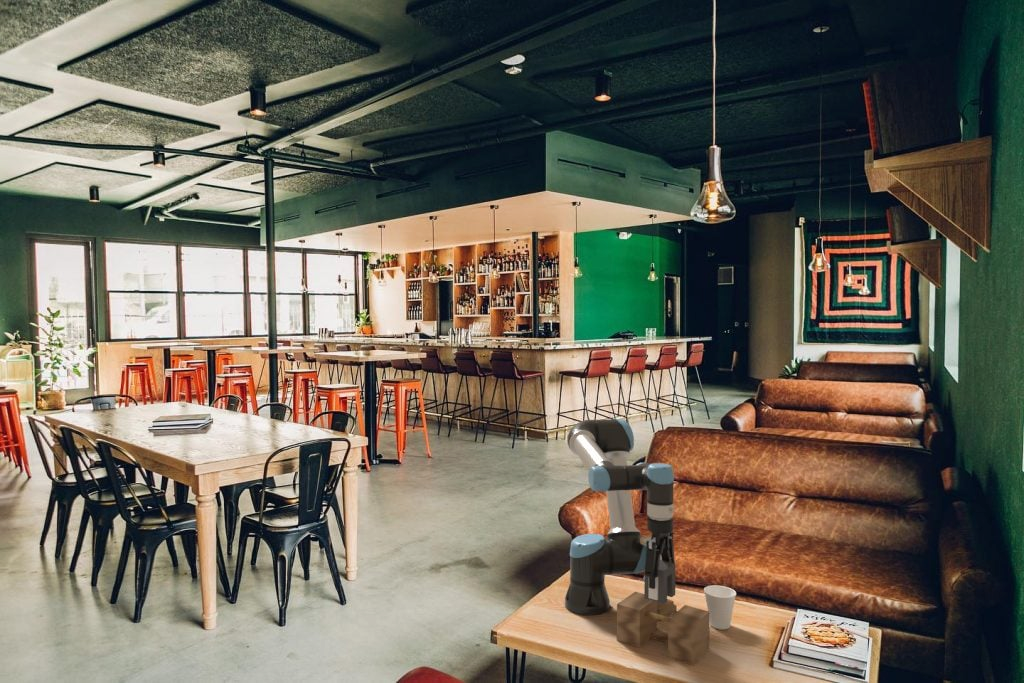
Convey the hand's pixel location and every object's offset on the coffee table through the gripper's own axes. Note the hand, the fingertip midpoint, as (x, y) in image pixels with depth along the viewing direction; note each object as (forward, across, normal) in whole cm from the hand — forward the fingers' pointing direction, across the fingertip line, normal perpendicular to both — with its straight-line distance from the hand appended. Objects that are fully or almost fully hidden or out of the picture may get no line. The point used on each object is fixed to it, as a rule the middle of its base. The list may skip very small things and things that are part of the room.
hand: (659, 593), depth 190 cm
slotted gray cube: (+1, 0, 0) cm, 1 cm away
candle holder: (+16, +22, +12) cm, 30 cm away
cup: (+16, +25, -9) cm, 31 cm away
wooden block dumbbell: (+16, +2, 0) cm, 16 cm away
